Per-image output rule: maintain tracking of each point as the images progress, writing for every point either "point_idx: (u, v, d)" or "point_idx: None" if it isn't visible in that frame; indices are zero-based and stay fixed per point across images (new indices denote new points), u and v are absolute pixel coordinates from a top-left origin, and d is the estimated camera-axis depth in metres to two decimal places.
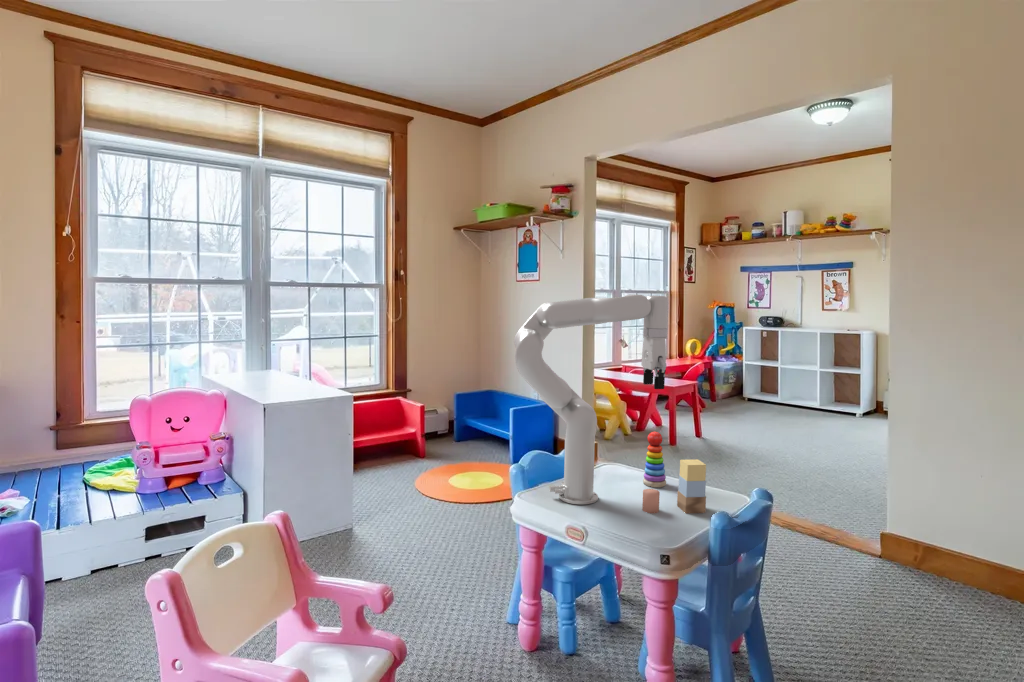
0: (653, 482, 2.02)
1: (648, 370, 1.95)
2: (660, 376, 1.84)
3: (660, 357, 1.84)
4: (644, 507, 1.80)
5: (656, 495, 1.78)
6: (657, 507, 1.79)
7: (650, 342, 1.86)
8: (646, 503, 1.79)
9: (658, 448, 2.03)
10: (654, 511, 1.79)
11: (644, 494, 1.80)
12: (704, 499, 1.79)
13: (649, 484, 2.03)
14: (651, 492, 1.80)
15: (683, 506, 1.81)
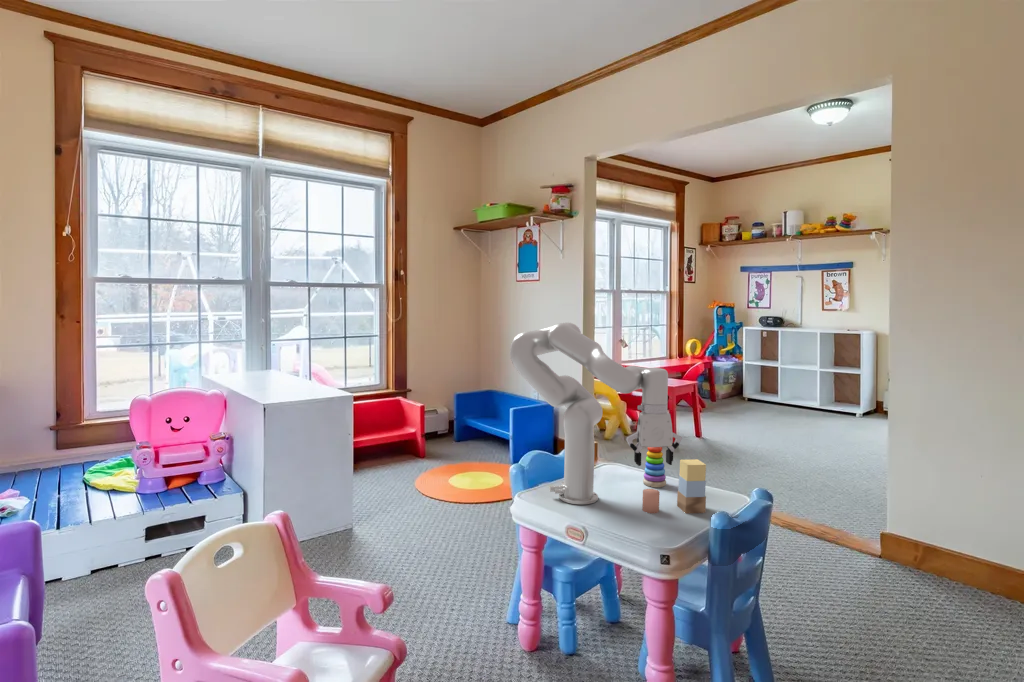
0: (653, 482, 2.02)
1: None
2: None
3: None
4: (644, 507, 1.80)
5: (656, 495, 1.78)
6: (657, 507, 1.79)
7: (667, 418, 1.77)
8: (646, 503, 1.79)
9: (658, 448, 2.03)
10: (654, 511, 1.79)
11: (644, 494, 1.80)
12: (704, 499, 1.79)
13: (649, 484, 2.03)
14: (651, 492, 1.80)
15: (682, 506, 1.81)
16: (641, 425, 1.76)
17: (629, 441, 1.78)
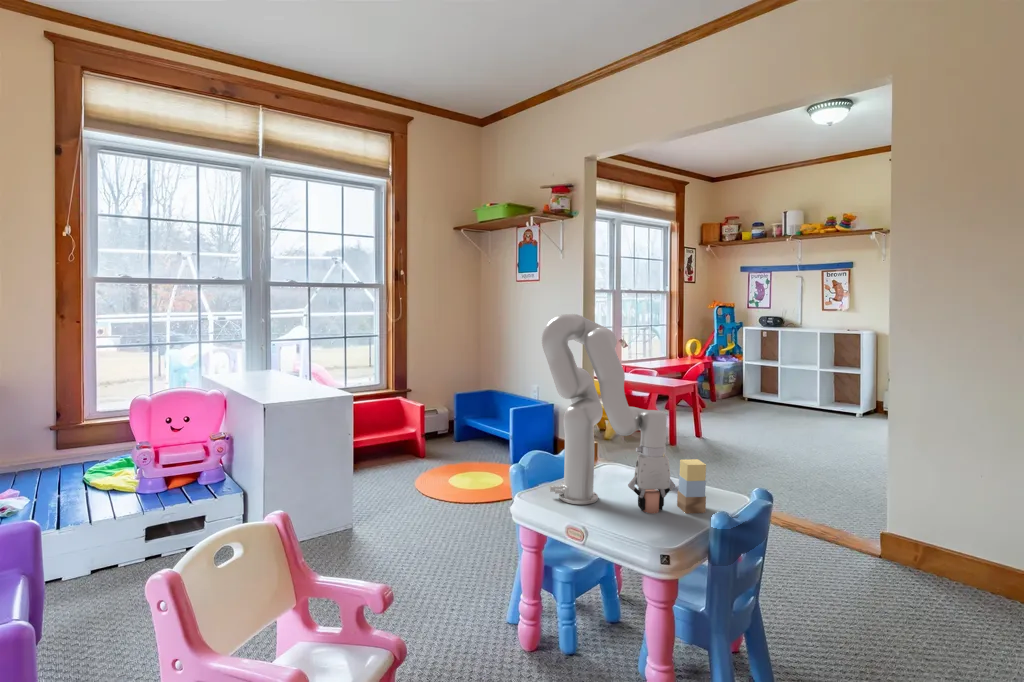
0: None
1: None
2: None
3: None
4: None
5: (656, 495, 1.78)
6: (657, 507, 1.79)
7: (665, 461, 1.78)
8: (646, 503, 1.79)
9: None
10: (654, 511, 1.79)
11: (644, 494, 1.80)
12: (704, 499, 1.79)
13: None
14: (651, 492, 1.80)
15: (682, 506, 1.81)
16: (639, 467, 1.78)
17: (632, 488, 1.79)
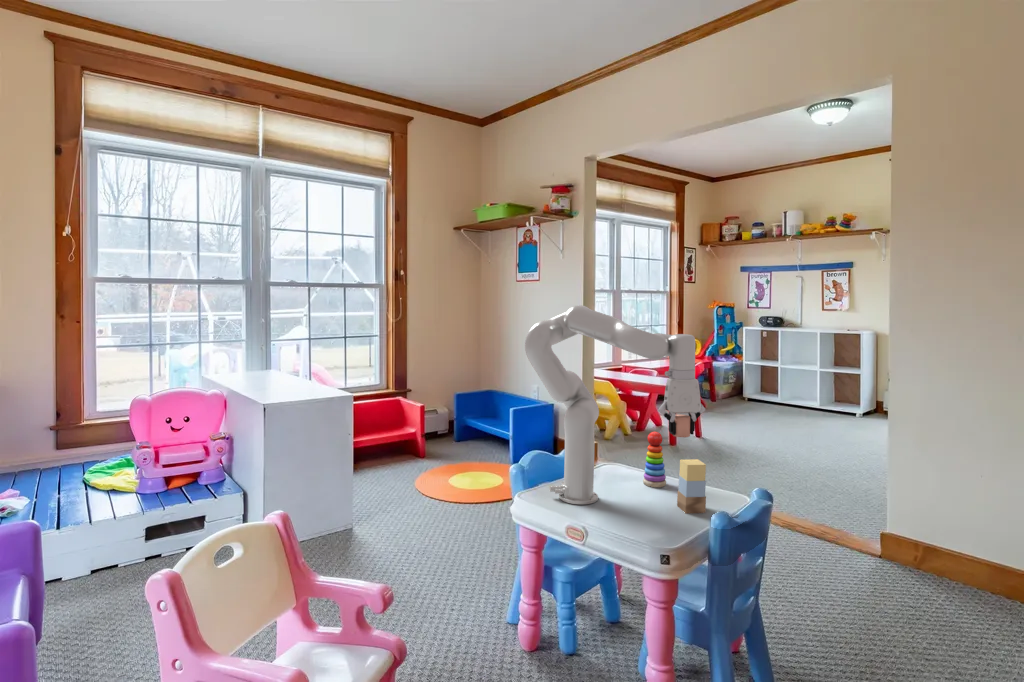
0: (653, 482, 2.02)
1: None
2: None
3: None
4: None
5: (687, 419, 1.77)
6: (688, 431, 1.78)
7: (695, 383, 1.77)
8: (677, 427, 1.78)
9: (658, 448, 2.03)
10: (685, 435, 1.77)
11: None
12: (704, 499, 1.79)
13: (649, 484, 2.03)
14: (681, 416, 1.79)
15: (682, 506, 1.81)
16: (669, 391, 1.77)
17: (662, 412, 1.78)
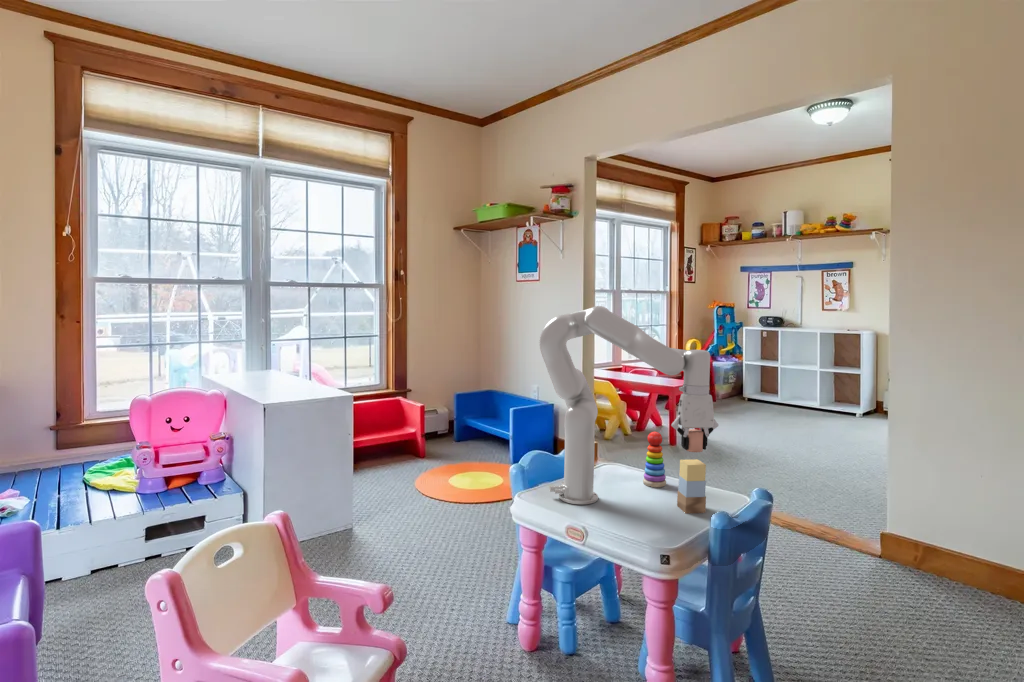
0: (653, 482, 2.02)
1: None
2: None
3: None
4: None
5: (700, 434, 1.78)
6: (701, 446, 1.79)
7: (709, 399, 1.78)
8: (690, 442, 1.79)
9: (658, 448, 2.03)
10: (698, 450, 1.79)
11: (688, 433, 1.80)
12: (704, 499, 1.79)
13: (649, 484, 2.03)
14: (695, 431, 1.80)
15: (682, 506, 1.81)
16: (683, 406, 1.78)
17: (675, 427, 1.79)
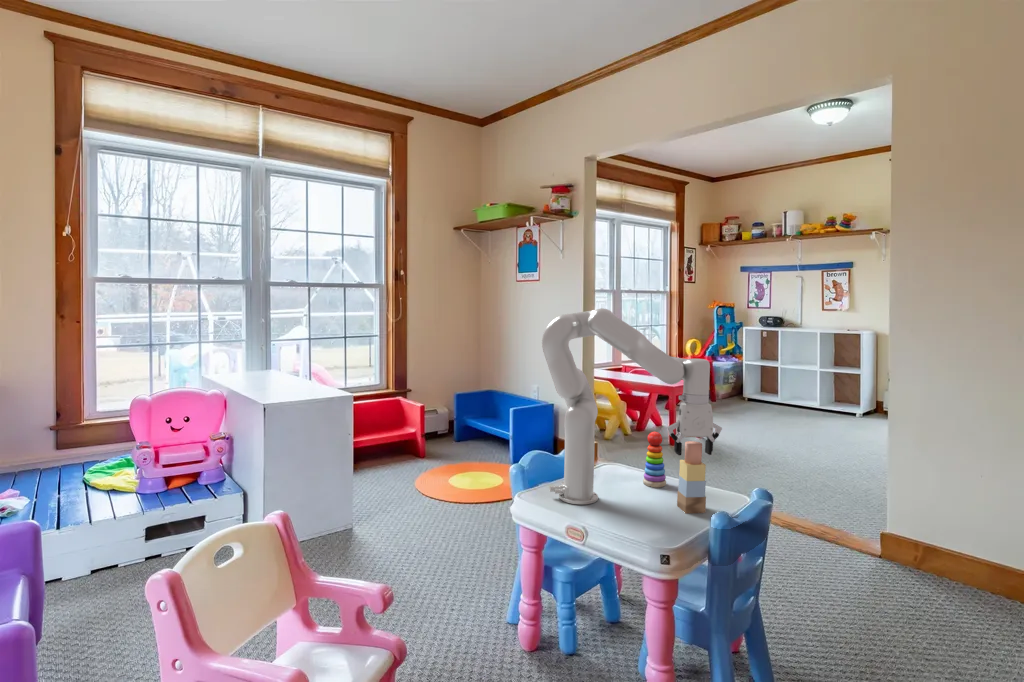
0: (653, 482, 2.02)
1: None
2: None
3: None
4: (687, 459, 1.80)
5: (699, 446, 1.79)
6: (700, 458, 1.79)
7: (708, 408, 1.78)
8: (689, 454, 1.79)
9: (658, 448, 2.03)
10: (697, 462, 1.79)
11: (687, 446, 1.80)
12: (704, 499, 1.79)
13: (649, 484, 2.03)
14: (694, 444, 1.80)
15: (682, 506, 1.81)
16: (682, 415, 1.78)
17: (670, 431, 1.79)
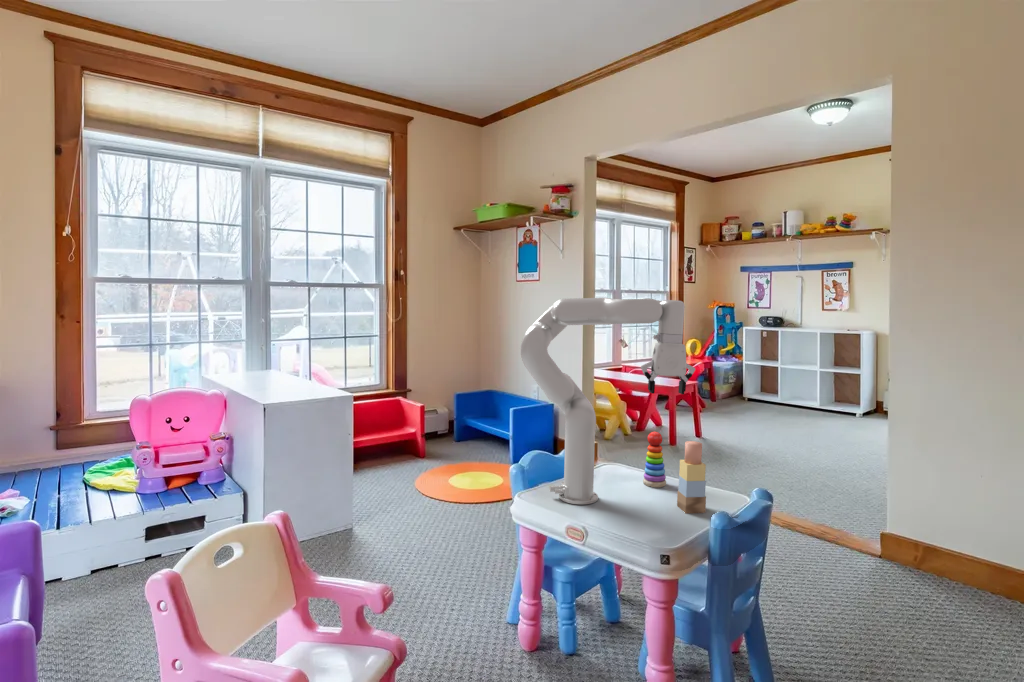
0: (653, 482, 2.02)
1: None
2: None
3: None
4: (687, 458, 1.80)
5: (699, 446, 1.79)
6: (700, 458, 1.79)
7: (681, 348, 1.83)
8: (689, 454, 1.79)
9: (658, 448, 2.03)
10: (697, 462, 1.79)
11: (687, 445, 1.80)
12: (704, 499, 1.79)
13: (649, 484, 2.03)
14: (694, 443, 1.80)
15: (682, 506, 1.81)
16: (656, 354, 1.83)
17: (644, 369, 1.84)
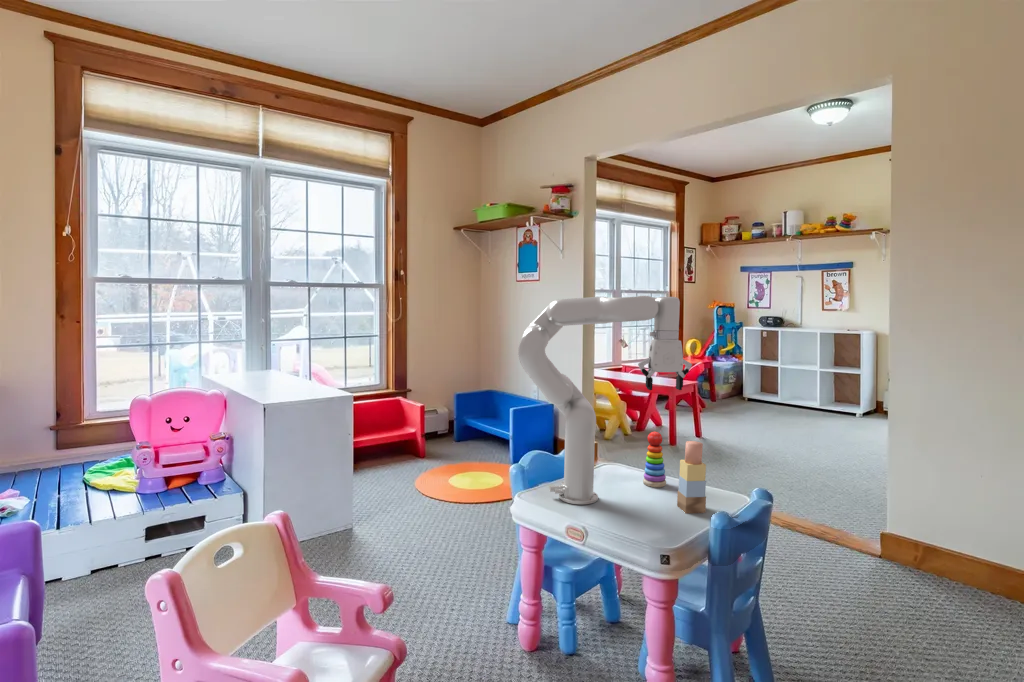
0: (653, 482, 2.02)
1: None
2: None
3: None
4: (687, 458, 1.80)
5: (699, 446, 1.79)
6: (700, 458, 1.79)
7: (678, 344, 1.84)
8: (690, 454, 1.79)
9: (658, 448, 2.03)
10: (697, 462, 1.79)
11: (687, 445, 1.80)
12: (704, 499, 1.79)
13: (649, 484, 2.03)
14: (694, 443, 1.80)
15: (683, 506, 1.81)
16: (653, 350, 1.83)
17: (641, 366, 1.85)
